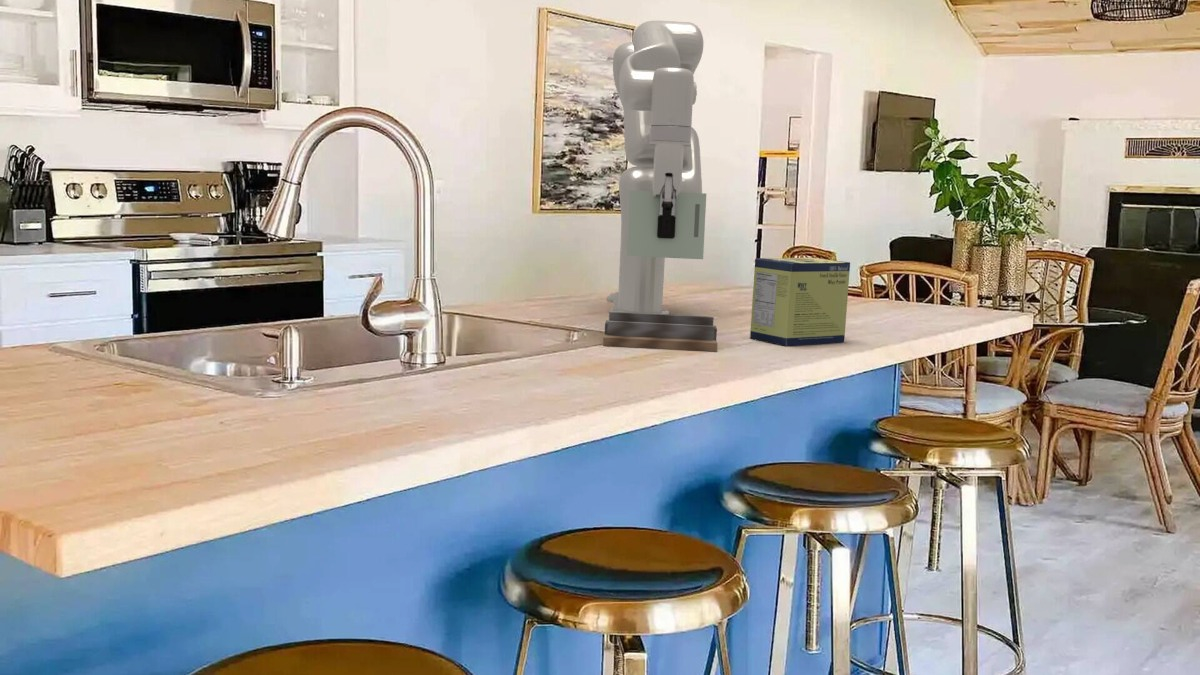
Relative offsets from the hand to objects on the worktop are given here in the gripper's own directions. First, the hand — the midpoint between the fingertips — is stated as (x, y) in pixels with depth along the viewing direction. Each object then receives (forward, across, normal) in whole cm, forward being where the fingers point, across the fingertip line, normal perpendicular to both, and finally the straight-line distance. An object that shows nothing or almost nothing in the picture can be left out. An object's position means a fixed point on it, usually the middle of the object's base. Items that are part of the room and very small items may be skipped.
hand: (665, 237), depth 217 cm
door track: (+19, +7, 0) cm, 20 cm away
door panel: (+4, 0, 0) cm, 4 cm away
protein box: (+19, -6, +26) cm, 33 cm away
